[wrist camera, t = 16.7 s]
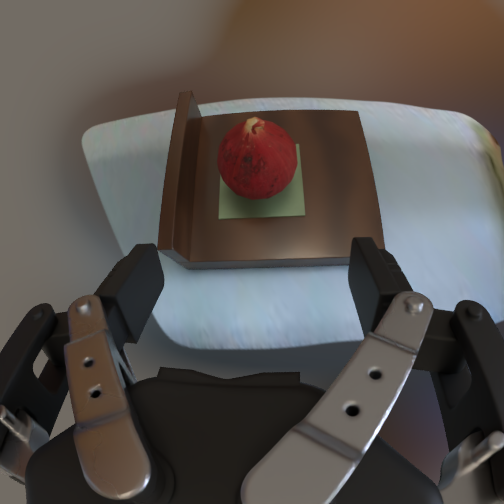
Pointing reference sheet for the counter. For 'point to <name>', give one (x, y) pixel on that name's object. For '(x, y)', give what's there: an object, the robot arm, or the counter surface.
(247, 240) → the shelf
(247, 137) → the red pomegranate
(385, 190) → the counter surface
